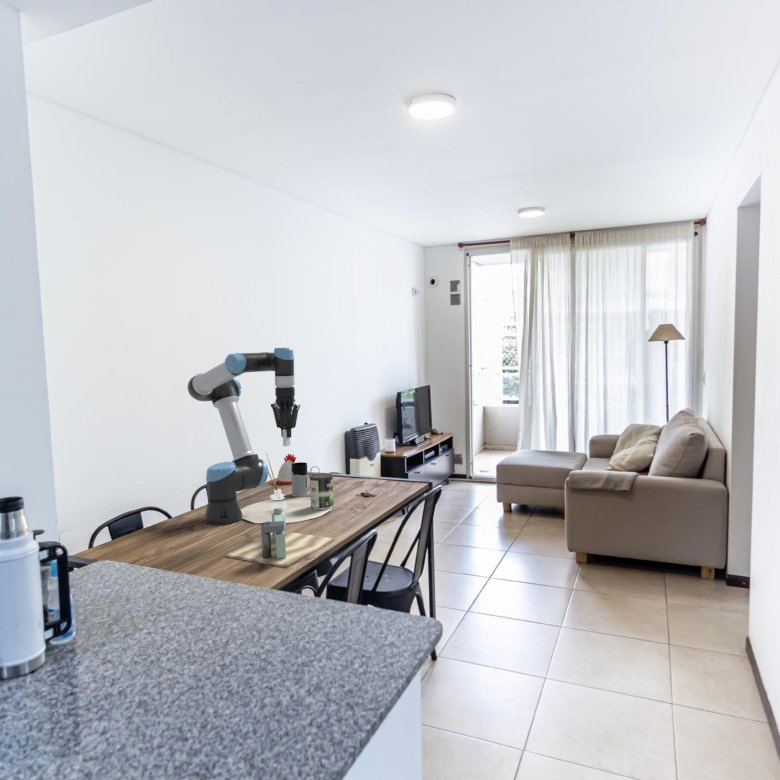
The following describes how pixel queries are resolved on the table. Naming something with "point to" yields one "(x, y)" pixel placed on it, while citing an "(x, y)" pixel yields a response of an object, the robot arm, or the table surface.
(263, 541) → the keeper
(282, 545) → the link
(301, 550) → the pintle board
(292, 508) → the table surface
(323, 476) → the coffee can
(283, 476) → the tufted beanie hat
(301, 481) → the grey and black mug
